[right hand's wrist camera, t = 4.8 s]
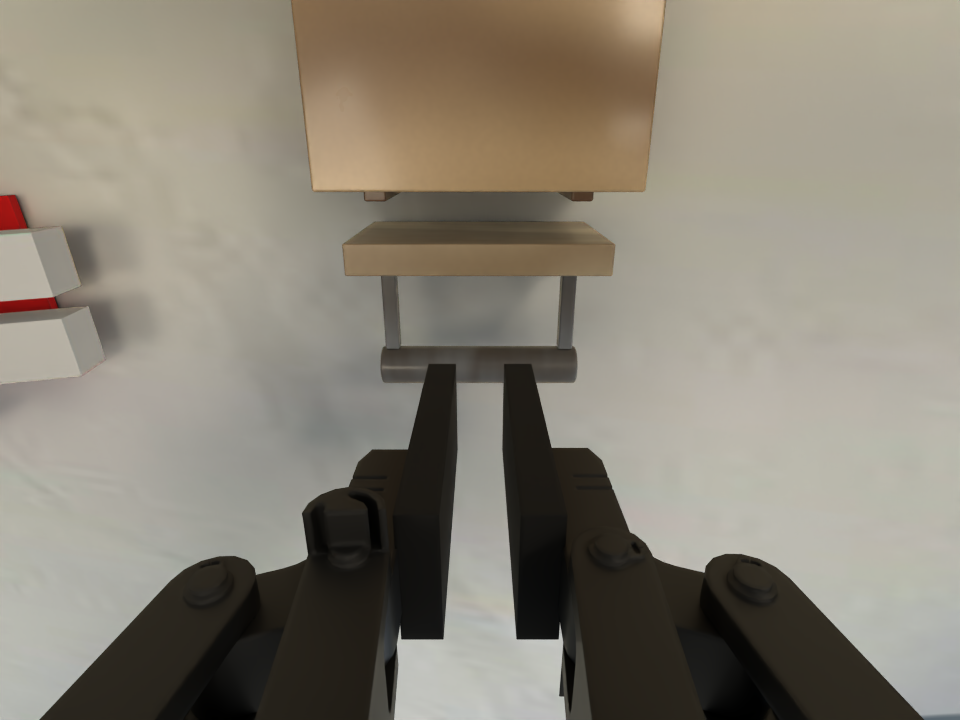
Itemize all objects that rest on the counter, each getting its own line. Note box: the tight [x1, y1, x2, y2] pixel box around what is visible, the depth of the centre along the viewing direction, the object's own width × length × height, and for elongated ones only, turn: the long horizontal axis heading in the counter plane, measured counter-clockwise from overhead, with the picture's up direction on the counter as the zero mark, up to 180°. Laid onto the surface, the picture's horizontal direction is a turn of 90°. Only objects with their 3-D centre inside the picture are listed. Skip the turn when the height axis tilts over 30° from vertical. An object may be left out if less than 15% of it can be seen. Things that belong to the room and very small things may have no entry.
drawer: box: [342, 192, 615, 383], centre depth 21 cm, size 24×10×6 cm, turn 0°
